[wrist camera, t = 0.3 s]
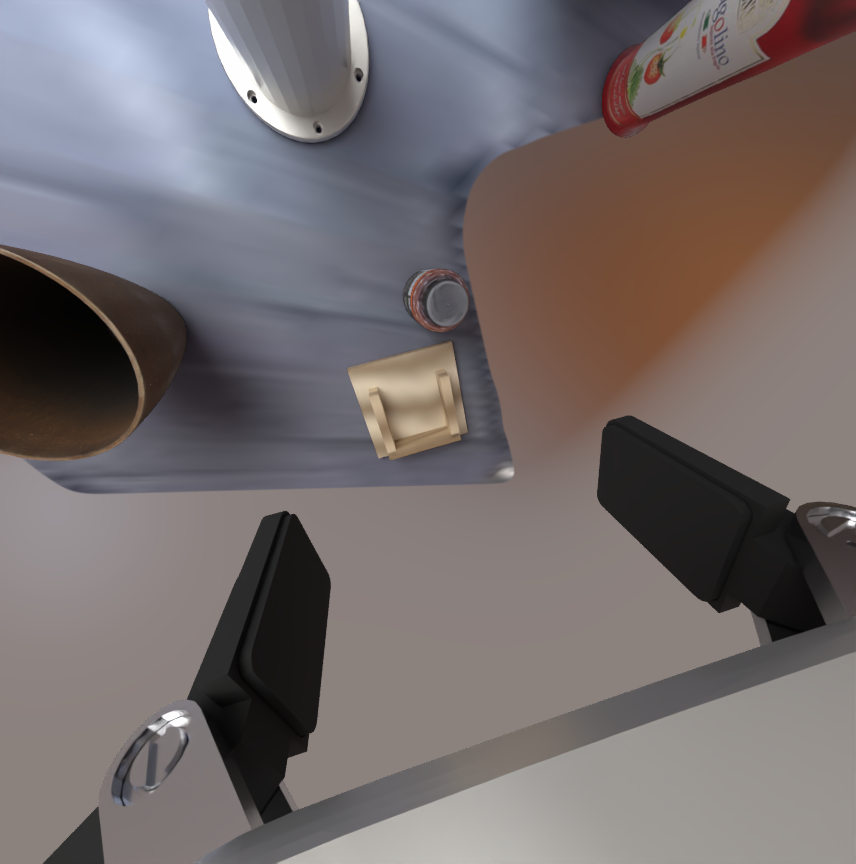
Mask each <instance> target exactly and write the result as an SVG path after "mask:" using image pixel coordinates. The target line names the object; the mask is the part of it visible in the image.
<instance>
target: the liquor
mask: <svg viewBox="0 0 856 864" xmlns="http://www.w3.org/2000/svg"><path fill="white" fill-rule="evenodd" d="M855 31H856V0H691V1H690V2H689V3H688V4H687V5H686V6H685V7H683V8H682V9H681V10H680V11H679V12H678V13H677V14H675V15H674V16H673V17H672V18H671V19H670V20H669V21H667V22H666V23H665V24H664V25H663V26H662V27H660V28H659V29H658V30H657V31H656V32H655V33H653V34H652V35H651V36H650V37H649V38H647V39H646V40H645V41H644V42H643V43H642V44H636V45H633V46H631V47H629V48H627V49H626V50H625V51H624V52H622V53H621V54H620V55H619V57H618V58H617V59H616V60H615V62H614V63H613V65H612V67H611V68H610V71H609V73H608V75H607V78H606V81H605V84H604V88H603V94H602V111H603V116H604V120H605V122H606V124H607V127H608V128H609V129H610V131H611V132H612V133H614V134H615V135H617V136H619V137H630V136H633V135H635V134H637V133H638V132H640V131H641V130H643V129H644V128H645V127H646V126H647V124H648V123H649V122H651V121H653V120H655V119H657V118H659V117H661V116H663V115H666V114H667V113H669V112H672V111H674V110H676V109H679V108H681V107H683V106H685V105H687V104H690V103H692V102H694V101H696V100H699V99H701V98H703V97H705V96H707V95H710V94H712V93H714V92H717V91H719V90H722V89H724V88H726V87H728V86H731V85H733V84H736V83H738V82H741V81H743V80H745V79H748V78H750V77H753V76H755V75H758V74H760V73H762V72H765V71H767V70H769V69H771V68H773V67H776V66H778V65H780V64H782V63H785V62H787V61H789V60H791V59H793V58H795V57H798V56H800V55H802V54H804V53H807V52H809V51H811V50H813V49H815V48H818V47H820V46H823V45H825V44H827V43H829V42H832V41H834V40H836V39H838V38H841V37H843V36H845V35H847V34H850V33H852V32H855Z"/></svg>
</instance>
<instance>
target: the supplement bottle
mask: <svg viewBox="0 0 856 864" xmlns="http://www.w3.org/2000/svg"><path fill="white" fill-rule="evenodd" d="M403 301H404V305H405V308H406V310H407V312H408V313H409V314H410V316H411V317H413V318H414V319H415V320H416V321H417V322H418V323H419V324H421V325H422V326H423V327H425V328H426V329H428V330H430V331H434V332H446V331H449V330H452V329H454V328H455V327H456V326H458V325H459V324H460V323H461V322H462V320H463V319H464V317H465V316H466V314H467V311H468V307H469V291H468V288H467V286H466V284H465V282H464V281H463V279H462V278H461V277H460V276H459V275H458V274H456V273H455V272H453V271H450V270H446V269H428V270H422V271H419V272H417V273H415V274H413V275H412V276H411V277H410V278H409V280H408V281H407V283H406V285H405V287H404V291H403Z"/></svg>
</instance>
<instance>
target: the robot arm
mask: <svg viewBox="0 0 856 864" xmlns="http://www.w3.org/2000/svg"><path fill="white" fill-rule="evenodd" d="M204 1H205V2H206V4H207V6H208V15H209V21H210V27H211V33H212V37H213V40H214V43H215V47H216V50H217V53H218V56H219V58H220V61H221V63H222V65H223V67H224V70H225V72H226V74H227V76H228V78H229V79H230V81H231V83H232V84H233V86H234V88H235V89H236V91H237V93H238V94H239V95H240V97H241V98H242V100H243V101H244V102H245V104H246V105H247V106H248V107H249V108H250V109H251V111H252V112H253V113H254V114H255V115H256V116H257V117H258V118H259V119H260V120H261V121H262V122H264V123H265V124H266V125H267V126H269V127H270V128H271V129H272V130H274V131H276V132H278V133H279V134H281V135H283V136H285V137H287V138H290V139H293V140H296V141H299V142H309V143H315V142H322V141H326V140H329V139H331V138H333V137H336V136H337V135H339V134H340V133H341V132H343V131H344V130H345V129H346V128H347V127H348V126H349V125H350V124H351V122H352V121H353V120H354V119H355V117H356V115H357V113H358V111H359V109H360V107H361V105H362V103H363V99H364V96H365V93H366V89H367V82H368V74H369V47H368V36H367V31H366V26H365V21H364V16H363V13H362V10H361V7H360V5H359V2H358V0H204ZM356 77H360V78H361V82H358V81H357V80H356ZM253 98H256V99H257V100H258V101H257V103H255V104H254V103H253V101H252V100H253ZM318 127H319V128H321V129H322V131H321V133H318V132H317V131H316V129H317V128H318ZM597 497H598V500H599V502H600V504H601V505H602V506H603V507H604V508H605V509H606V510H607V511H608V512H609V513H610V514H611V515H612V516H613V517H614V518H615V519H616V520H617V521H618V522H619V523H620V524H621V525H622V526H623V527H625V529H626V530H627V531H628V532H629V533H631V534H632V535H633V536H634V537H635V538H636V539H637V540H638V541H639V542H640V543H641V544H642V545H643V546H644V547H645V548H646V549H647V550H648V551H649V552H650V553H651V554H652V555H653V556H654V557H655V558H656V559H657V560H658V561H659V562H661V563H662V564H663V565H664V566H665V567H666V568H667V569H668V570H669V571H670V572H671V573H672V574H673V575H674V576H675V577H676V578H677V579H678V580H679V581H680V582H681V583H682V584H683V585H684V586H685V587H686V588H687V589H688V590H689V591H691V593H692V594H694V595H695V596H696V597H697V598H698V599H700V600H702V601H705V602H708V603H709V604H710V605H711V606H712V607H713V608H714V609H715V610H716V611H717V612H718V613H721V612H724V611H727V610H730V609H733V608H736V607H739V605H740V603H743V604H744V605H745V606H746V607H747V608H748V609H750V610H751V614H752V617H753V621H754V624H755V628H756V631H757V635H758V638H759V642H760V645H761V646H760V647H757V648H755V649H752V650H749V651H746V652H743V653H740V654H737V655H734V656H731V657H728V658H725V659H722V660H719V661H717V662H713V663H710V664H708V665H705V666H702V667H699V668H696V669H693V670H690V671H687V672H684V673H681V674H678V675H675V676H672V677H670V678H667V679H664V680H661V681H658V682H655V683H652V684H649V685H646V686H644V687H641V688H638V689H635V690H632V691H629V692H627V693H623V694H620V695H618V696H615V697H612V698H609V699H606V700H603V701H600V702H597V703H595V704H592V705H589V706H586V707H583V708H580V709H577V710H575V711H571V712H569V713H566V714H563V715H560V716H557V717H554V718H552V719H549V720H546V721H543V722H540V723H537V724H534V725H531V726H528V727H526V728H523V729H520V730H517V731H514V732H511V733H509V734H506V735H503V736H500V737H497V738H494V739H491V740H489V741H486V742H483V743H480V744H477V745H474V746H472V747H469V748H466V749H463V750H460V751H458V752H455V753H452V754H449V755H446V756H443V757H441V758H438V759H435V760H432V761H429V762H426V763H424V764H421V765H418V766H415V767H412V768H409V769H407V770H404V771H401V772H398V773H395V774H393V775H390V776H387V777H384V778H382V779H379V780H376V781H374V782H371V783H368V784H365V785H363V786H360V787H357V788H355V789H352V790H350V791H347V792H344V793H341V794H339V795H336V796H334V797H331V798H328V799H326V800H323V801H320V802H318V803H315V804H312V805H310V806H308V807H304V808H302V809H299V808H298V807H297V805H296V803H295V801H294V799H293V797H292V795H291V794H290V792H289V790H288V788H287V786H286V784H285V783H284V781H283V779H284V777H285V771H286V765H287V758H289V757H292V756H295V755H298V754H301V753H303V752H307V747H308V739H309V733H312V732H314V730H315V727H316V724H317V717H318V707H319V697H320V687H321V677H322V667H323V658H324V648H325V638H326V628H327V618H328V608H329V599H330V589H331V583H330V577H329V574H328V572H327V570H326V569H325V567H324V565H323V563H322V562H321V559H320V558H319V556H318V554H317V552H316V550H315V548H314V546H313V545H312V543H311V541H310V539H309V537H308V535H307V534H306V532H305V530H304V528H303V526H302V524H301V523H300V521H299V519H298V517H297V516H296V515H295V514H291V515H290V514H289V513H288V512H287V511H283V512H279V513H275V514H272V515H268V516H265V517H264V518H263V519H262V521H261V523H260V526H259V528H258V531H257V533H256V536H255V538H254V540H253V543H252V545H251V548H250V550H249V552H248V555H247V557H246V560H245V562H244V565H243V567H242V570H241V572H240V574H239V577H238V578H237V580H236V582H235V584H234V587H233V589H232V591H231V594H230V596H229V599H228V601H227V603H226V606H225V608H224V611H223V613H222V616H221V618H220V620H219V623H218V626H217V628H216V630H215V633H214V635H213V638H212V640H211V643H210V645H209V647H208V649H207V652H206V654H205V657H204V659H203V662H202V664H201V666H200V669H199V671H198V674H197V676H196V679H195V681H194V683H193V686H192V688H191V691H190V693H189V696H188V698H187V699H185V700H181V701H176V702H173V703H171V704H169V705H167V706H165V707H163V708H161V709H160V710H158V711H157V712H156V713H155V714H153V715H152V716H151V717H149V718H148V719H147V720H146V721H145V722H144V723H143V724H142V725H141V726H140V727H139V728H138V729H137V730H136V731H135V732H134V733H133V734H132V735H131V736H130V738H129V739H128V740H127V741H126V743H125V744H124V745H123V747H122V748H121V749H120V751H119V752H118V753H117V755H116V757H115V758H114V760H113V762H112V764H111V766H110V767H109V769H108V771H107V773H106V776H105V778H104V781H103V784H102V787H101V789H100V795H99V806H98V807H97V808H96V809H95V810H94V811H93V812H92V813H91V814H90V815H89V816H88V817H87V818H86V819H85V821H84V822H83V823H82V824H81V825H80V826H79V827H78V828H77V829H76V830H75V831H74V832H73V833H72V834H71V835H70V836H69V837H68V838H67V839H66V840H65V841H64V842H63V843H62V844H61V845H60V847H59V848H58V849H56V851H54V853H53V854H52V855H51V856H50V857H49V858H48V859H47V860H46V861H45V862H44V863H43V864H856V508H855V507H852V506H848V505H843V504H838V503H831V502H812V503H806V504H804V505H801V506H799V507H798V509H797V510H796V512H795V514H794V513H793V512H791V511H789V510H787V509H786V507H787V505H788V503H789V501H790V499H789V498H787V497H785V496H783V495H782V494H780V493H778V492H776V491H774V490H772V489H770V488H768V487H766V486H764V485H762V484H760V483H759V482H757V481H755V480H753V479H751V478H749V477H747V476H745V475H743V474H742V473H740V472H738V471H736V470H734V469H732V468H730V467H728V466H726V465H724V464H723V463H720V462H719V461H717V460H715V459H713V458H711V457H709V456H707V455H705V454H704V453H702V452H700V451H698V450H696V449H694V448H692V447H690V446H688V445H686V444H685V443H683V442H681V441H679V440H677V439H675V438H673V437H671V436H669V435H667V434H665V433H664V432H662V431H660V430H658V429H656V428H654V427H652V426H650V425H648V424H646V423H644V422H643V421H641V420H639V419H637V418H635V417H633V416H625V417H621V418H617V419H613V420H611V421H609V422H608V423H607V425H606V427H604V429H603V432H602V443H601V455H600V466H599V478H598V490H597Z"/></svg>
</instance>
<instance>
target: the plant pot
mask: <svg viewBox="0 0 856 864" xmlns="http://www.w3.org/2000/svg"><path fill="white" fill-rule="evenodd" d="M186 341H187V331H186V326H185V323H184V321H183V319H182V317H181V316H180V314H179V313H178V311H177V310H176V309H175V308H174V307H173V306H172V305H171V304H170V303H169V302H167V301H166V300H165V299H163V298H162V297H160V296H158V295H157V294H155V293H153V292H151V291H149V290H147V289H145V288H143V287H141V286H139V285H137V284H135V283H132V282H130V281H128V280H125V279H123V278H120V277H118V276H115V275H113V274H110V273H107V272H104V271H101V270H98V269H95V268H92V267H89V266H86V265H82V264H79V263H76V262H72V261H69V260H65V259H61V258H57V257H54V256H50V255H46V254H42V253H37V252H33V251H29V250H24V249H19V248H15V247H10V246H5V245H0V453H2V454H6V455H11V456H15V457H20V458H26V459H35V460H48V461H64V460H75V459H82V458H87V457H91V456H95V455H98V454H101V453H103V452H106V451H108V450H110V449H112V448H114V447H116V446H117V445H119V444H120V443H122V442H123V441H124V440H125V439H126V438H127V437H128V436H129V435H130V434H131V433H132V432H133V431H134V430H135V429H136V428H137V427H138V426H139V425H140V424H141V422H142V421H143V420H144V419H145V418H146V417H147V416H148V414H149V413H150V412H151V411H152V410H153V408H154V407H155V406H156V405H157V403H158V402H159V401H160V399H161V398H162V396H163V395H164V393H165V392H166V390H167V389H168V387H169V386H170V384H171V382H172V380H173V379H174V377H175V375H176V373H177V371H178V369H179V366H180V364H181V361H182V358H183V355H184V351H185V347H186Z"/></svg>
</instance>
